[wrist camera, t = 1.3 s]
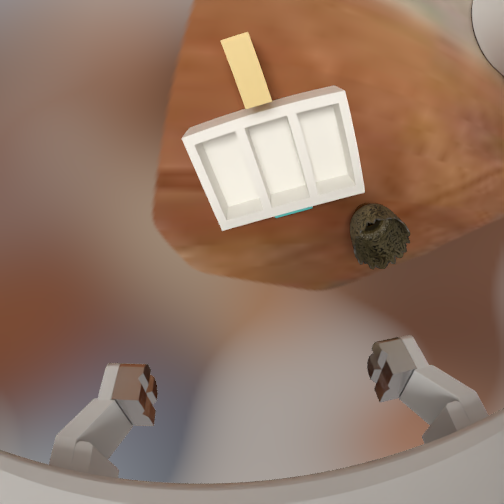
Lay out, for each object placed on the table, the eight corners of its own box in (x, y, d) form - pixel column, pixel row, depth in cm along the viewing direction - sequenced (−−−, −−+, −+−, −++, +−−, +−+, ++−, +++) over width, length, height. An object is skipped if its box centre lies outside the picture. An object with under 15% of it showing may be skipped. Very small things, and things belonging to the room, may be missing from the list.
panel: (248, 36, 29) (248, 31, 22) (267, 90, 33) (272, 101, 26) (226, 42, 29) (220, 40, 23) (246, 96, 33) (245, 109, 27)
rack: (334, 85, 32) (344, 90, 28) (355, 180, 39) (365, 196, 36) (189, 128, 35) (181, 138, 32) (226, 215, 43) (223, 234, 39)
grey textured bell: (398, 203, 41) (421, 235, 35) (369, 241, 45) (386, 277, 39) (359, 179, 39) (379, 209, 33) (329, 222, 43) (343, 257, 37)
